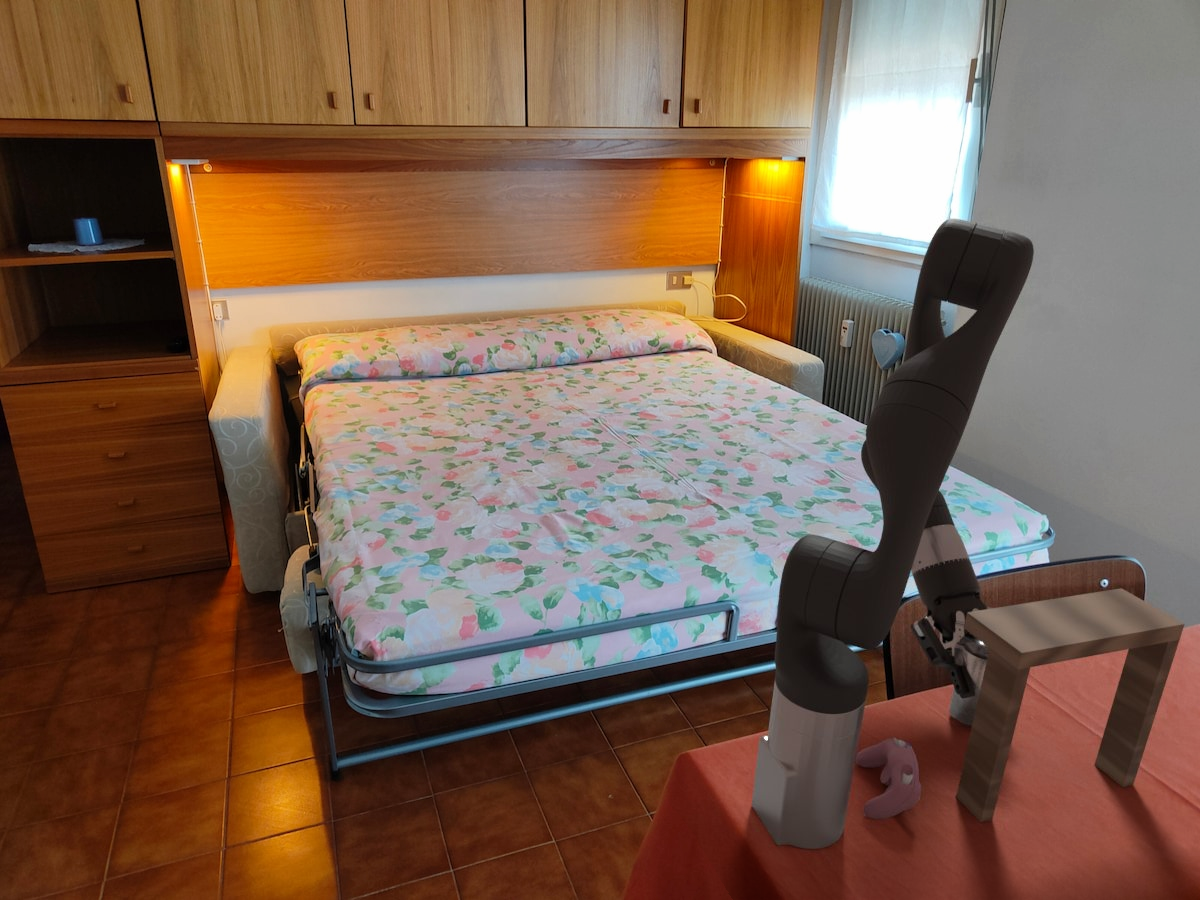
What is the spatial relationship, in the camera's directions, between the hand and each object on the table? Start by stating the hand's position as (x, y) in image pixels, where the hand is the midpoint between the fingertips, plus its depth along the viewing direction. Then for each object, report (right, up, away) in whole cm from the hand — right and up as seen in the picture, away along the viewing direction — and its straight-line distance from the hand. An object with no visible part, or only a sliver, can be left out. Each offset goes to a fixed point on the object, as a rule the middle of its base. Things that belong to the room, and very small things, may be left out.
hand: (986, 693), depth 104 cm
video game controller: (-16, -9, -9) cm, 21 cm away
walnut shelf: (+3, -8, -6) cm, 11 cm away
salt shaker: (-1, -4, +3) cm, 5 cm away
